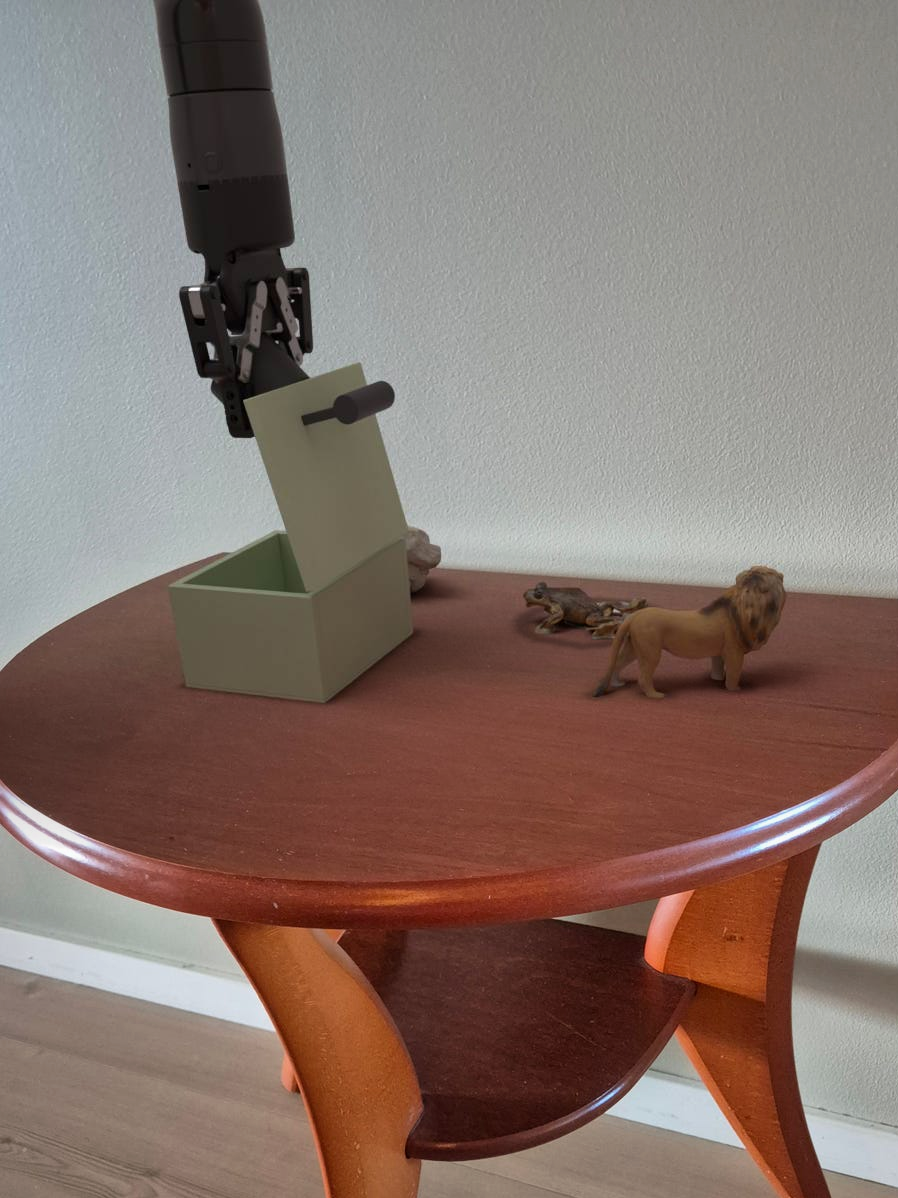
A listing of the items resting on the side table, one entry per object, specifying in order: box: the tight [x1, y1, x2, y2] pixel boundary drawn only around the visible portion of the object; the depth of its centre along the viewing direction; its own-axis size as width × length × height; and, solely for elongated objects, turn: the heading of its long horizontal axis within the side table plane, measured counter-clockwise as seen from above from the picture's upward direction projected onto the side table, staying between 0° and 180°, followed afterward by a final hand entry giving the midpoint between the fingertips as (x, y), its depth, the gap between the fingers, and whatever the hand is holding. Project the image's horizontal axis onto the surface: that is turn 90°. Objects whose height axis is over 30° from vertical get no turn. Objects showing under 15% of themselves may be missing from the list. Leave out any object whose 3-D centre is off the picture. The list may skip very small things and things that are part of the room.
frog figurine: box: [522, 581, 649, 640], centre depth 102 cm, size 12×12×4 cm
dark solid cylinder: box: [210, 332, 311, 406], centre depth 88 cm, size 6×6×4 cm
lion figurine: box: [592, 565, 787, 699], centre depth 87 cm, size 15×5×9 cm, turn 102°
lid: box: [243, 361, 409, 592], centre depth 88 cm, size 14×16×6 cm
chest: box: [167, 529, 414, 704], centre depth 96 cm, size 13×16×9 cm
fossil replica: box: [400, 524, 442, 594], centre depth 112 cm, size 12×8×10 cm
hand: (268, 427), depth 89 cm, fingers closed on dark solid cylinder, 6 cm apart
